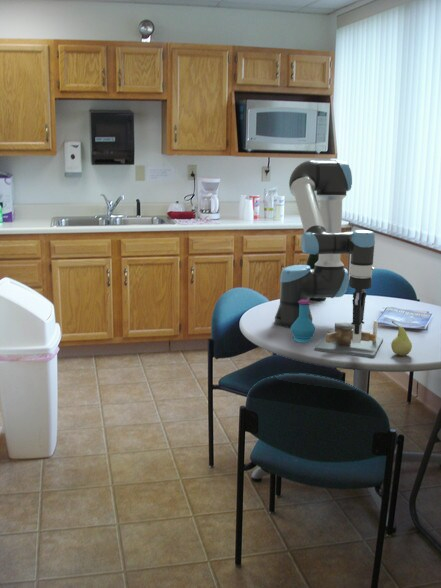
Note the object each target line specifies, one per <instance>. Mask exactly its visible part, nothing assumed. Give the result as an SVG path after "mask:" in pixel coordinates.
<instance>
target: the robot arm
mask: <svg viewBox="0 0 441 588" xmlns="http://www.w3.org/2000/svg"><path fill="white" fill-rule="evenodd" d="M288 184H289V185H288V186H289V191H290V193H291V195H292V196H293V197H294V199H295V202H296V207H297V209H298V210H297V211H298V213H299V217H300V221H301V225H302V228H303V229H302V230H303V233H302V234H301V237H300V248H301V251H302V253H303V254H307V255H309V254H319V260H318V261H317V262H316V263H315V268H314V269H311V268H310V266H308V265H306V264H294V265H288V266H286V267H284V268H283V269H282V270H281V272H280V273H281V274H280V278H279V279H280V280H279V283H280V288H279V305H278V308H277V310H276V313H275V317H274V323H275V324H276V326H277V325H278V326H279V327H282V328H290V329H291V326H292V324H293V323H294V322H295V321H296V320H297V318H298V317H299V303H298V301H300V300H309V298H325V299H326V298H330V299H334V298H335V299H336V298H342V297H343V296H344V295H345V294H346V293H347V290H348V287H350V288H352V289H355V290H354V292H353V294H352V300H351V301H352V322H350V324H353V329H352V330H353V341H352V342H355V343H361V333H362V331H363V325H364V324H365V321H363V320H364V316H365V315H364V314H365V305H366V297H367V292H366V290H369V289H371V288H372V286H373V278H372V276H373V271H374V270H375V267H373V266H374V256H375V244H376V239H375V234H376V233H374V231H371V230H368V229H367V230H366V229H356V230H347V231H345V232H343V231H342V221H343V220H342V219H343V218H342V215H343V214H342V213H343V201H344V199H345V197H347V192H349V191H351V189H352V185H353V175H352V170H351V168H350V165H349V163H347V162H346V161H343V160H312V159H311V160H306V161H304V162H302V163H299V164H297V166H296V167H295V168H294V169H293V171H292V173H291V174H290V176H289V183H288ZM315 192H316V193H315ZM317 198H318V199H319V201H320V202H319V203H320V205H319V203H318V200H317ZM341 255H350V264H349V265H350V266H349V270H348V269H346V268H345V265H344V263H343V262H342V260H341ZM349 275H350V276H349ZM309 301H310V300H309ZM308 317H309V319H310V320H311V322H312V323H313V315H312V312H311V309H310V307H309V316H308Z"/></svg>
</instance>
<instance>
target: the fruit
mask: <svg viewBox="0 0 441 588" xmlns="http://www.w3.org/2000/svg"><path fill="white" fill-rule="evenodd" d="M391 323H392V324H393V325H395V326H397V328H398V333H397V335H396V337H395V338H393V339H392V341H391V343H390V345H391V350H392V352H393V354H395V355H397V356H401V357H403V356H408V355H409V354H410V353H411V351H412V349H413V348H412V347H413V345H412V342H411V340H410V338H409V336H408V334H407V332H406V330H405V328H404V327H402V326H400V325H398V324H397V323H396V322H394V320H392V321H391Z"/></svg>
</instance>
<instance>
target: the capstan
mask: <svg viewBox="0 0 441 588" xmlns="http://www.w3.org/2000/svg"><path fill="white" fill-rule="evenodd" d="M330 332H331V333H327V332H326V333H327V334H326V333H325V334H326V342H327V343H330V342H334V341H337V344H339V345H350V344H351V339H353V324H351V322H335V323H334V331H330ZM370 340H372V341H373V340H375V335H374V334H373V333H371V332H370V331H363V330H362V333H361V341H370Z"/></svg>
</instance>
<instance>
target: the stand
mask: <svg viewBox="0 0 441 588" xmlns="http://www.w3.org/2000/svg"><path fill="white" fill-rule="evenodd" d="M378 323H379V322H378V320H373V327H372V334H374V335H375V340H373V341H372V340H370V341H361V343H355V342H352V341H353V339H351V344H350V345H339V344H337V341H334V342H330V343H327V342H326V334H327V333H331V332H332V331H326V333H325V334H324V336H323V337H322V338H321V339H320V340H319V341H318V343H317V344H316V345H315V346H314V347H313V348H314V351H318V350H319V351H320V352H326V353H327V352H328V353H333V354H340V355H341V354H343V355H350V356H358V357H366V358H367V357H368V358H372V359H374V358H375V357H376V354H377V353H378V350H379V349H380V347H381V345H382V343H383V341H384V338H383V337H377V335H378V325H379V324H378ZM319 351H318V352H319Z"/></svg>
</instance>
